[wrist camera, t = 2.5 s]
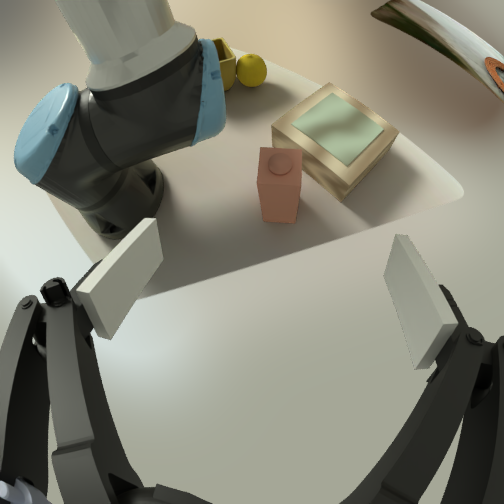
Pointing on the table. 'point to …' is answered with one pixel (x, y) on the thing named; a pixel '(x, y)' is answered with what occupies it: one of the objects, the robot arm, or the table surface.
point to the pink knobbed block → (279, 183)
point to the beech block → (334, 138)
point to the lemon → (251, 70)
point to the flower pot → (226, 62)
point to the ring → (494, 70)
